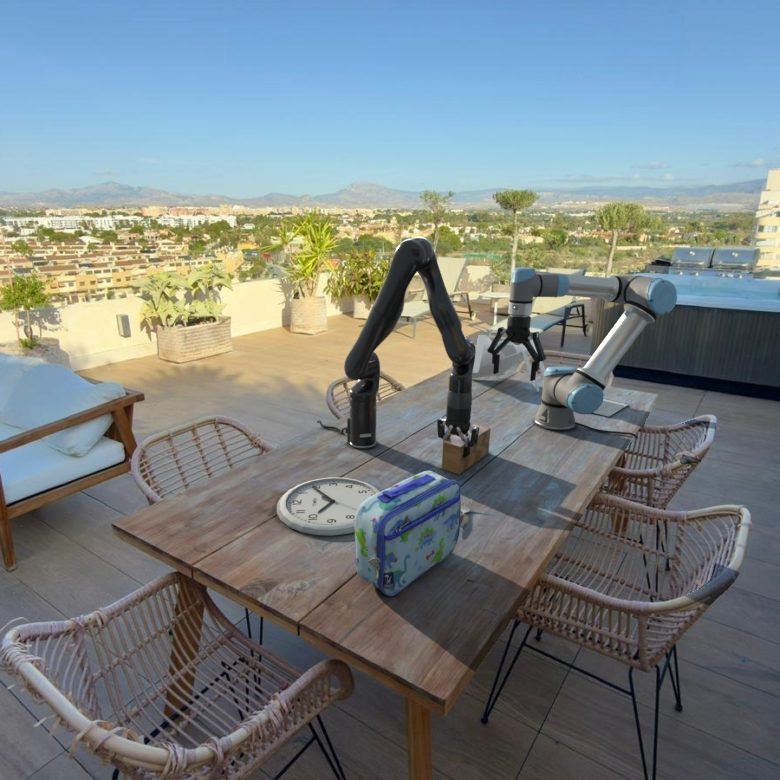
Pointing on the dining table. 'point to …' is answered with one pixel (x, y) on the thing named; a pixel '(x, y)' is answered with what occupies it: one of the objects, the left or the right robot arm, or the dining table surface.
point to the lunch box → (406, 530)
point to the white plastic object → (501, 358)
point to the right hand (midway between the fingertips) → (513, 376)
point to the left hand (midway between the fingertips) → (456, 453)
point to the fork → (465, 509)
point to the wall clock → (324, 505)
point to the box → (455, 449)
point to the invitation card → (609, 407)
